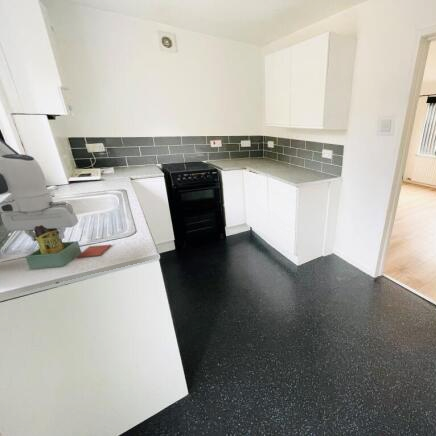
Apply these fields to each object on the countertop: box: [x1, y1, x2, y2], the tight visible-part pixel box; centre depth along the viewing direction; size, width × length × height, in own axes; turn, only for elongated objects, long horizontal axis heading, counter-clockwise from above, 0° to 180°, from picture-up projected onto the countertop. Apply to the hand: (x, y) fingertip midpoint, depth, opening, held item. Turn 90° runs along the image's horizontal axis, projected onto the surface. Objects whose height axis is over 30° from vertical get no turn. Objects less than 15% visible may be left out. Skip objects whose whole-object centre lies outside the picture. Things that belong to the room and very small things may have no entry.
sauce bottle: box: [33, 225, 64, 255], centre depth 88 cm, size 7×6×20 cm
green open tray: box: [24, 240, 82, 270], centre depth 91 cm, size 10×11×5 cm
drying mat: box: [76, 244, 112, 259], centre depth 98 cm, size 8×9×1 cm
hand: (49, 239), depth 88 cm, fingers closed on sauce bottle, 6 cm apart
